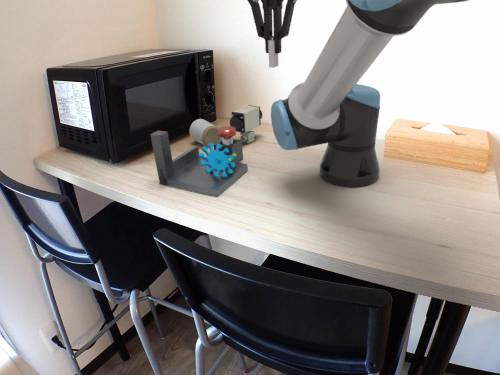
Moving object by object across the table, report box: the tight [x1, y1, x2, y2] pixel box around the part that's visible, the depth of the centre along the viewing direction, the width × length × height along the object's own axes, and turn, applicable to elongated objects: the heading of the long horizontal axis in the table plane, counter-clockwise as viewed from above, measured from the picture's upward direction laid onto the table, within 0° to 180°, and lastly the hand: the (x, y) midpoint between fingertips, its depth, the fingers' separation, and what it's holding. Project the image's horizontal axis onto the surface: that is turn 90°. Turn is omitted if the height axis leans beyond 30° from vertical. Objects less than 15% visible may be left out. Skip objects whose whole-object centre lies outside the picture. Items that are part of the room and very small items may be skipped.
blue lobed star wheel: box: [199, 143, 236, 178], centre depth 97 cm, size 11×6×10 cm
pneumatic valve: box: [229, 104, 263, 145], centre depth 120 cm, size 6×12×12 cm, turn 142°
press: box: [150, 130, 249, 198], centre depth 100 cm, size 18×22×14 cm
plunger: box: [218, 125, 237, 146], centre depth 106 cm, size 5×5×9 cm
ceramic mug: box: [189, 118, 222, 147], centre depth 122 cm, size 11×8×8 cm
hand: (273, 66), depth 96 cm, fingers closed
